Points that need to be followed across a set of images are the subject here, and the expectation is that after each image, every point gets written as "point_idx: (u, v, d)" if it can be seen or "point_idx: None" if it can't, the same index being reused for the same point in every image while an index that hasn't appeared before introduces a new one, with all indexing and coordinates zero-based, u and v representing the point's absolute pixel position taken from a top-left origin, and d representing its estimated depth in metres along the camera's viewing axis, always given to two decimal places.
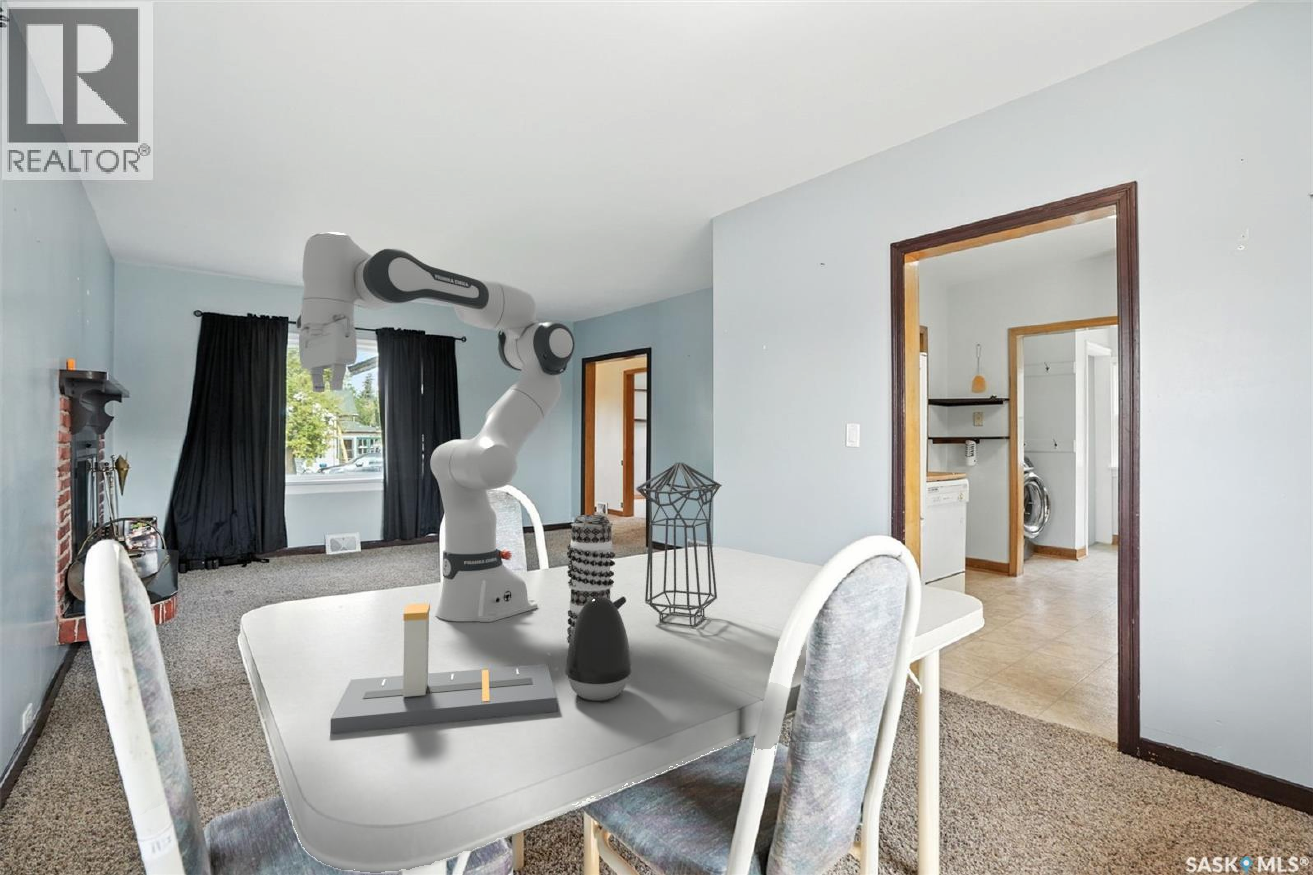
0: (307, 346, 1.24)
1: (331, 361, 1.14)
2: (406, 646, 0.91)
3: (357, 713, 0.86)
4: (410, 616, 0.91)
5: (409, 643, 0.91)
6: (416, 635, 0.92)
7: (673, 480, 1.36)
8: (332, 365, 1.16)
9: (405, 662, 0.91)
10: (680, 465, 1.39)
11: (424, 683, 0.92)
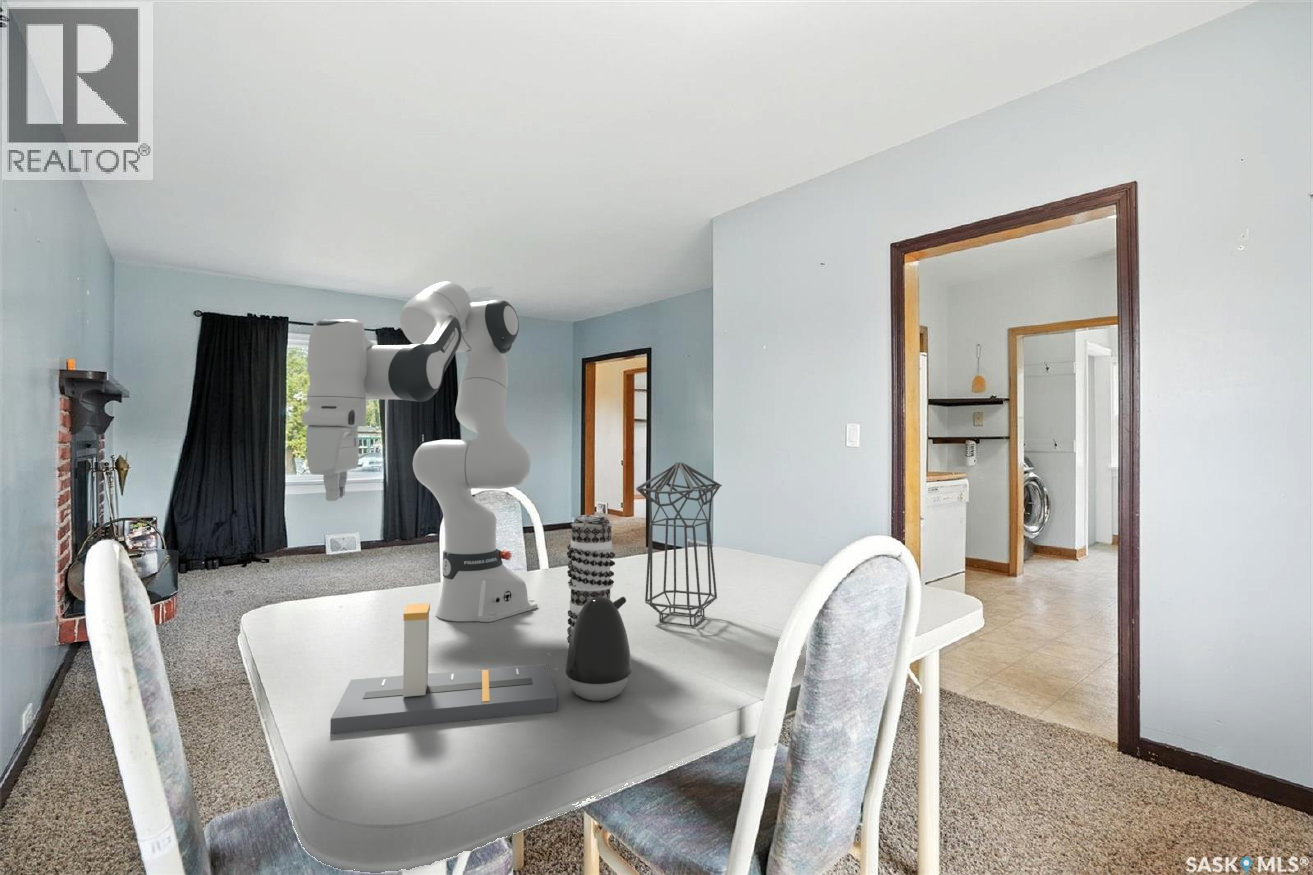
0: None
1: (355, 467, 1.12)
2: (406, 646, 0.91)
3: (357, 713, 0.86)
4: (410, 616, 0.91)
5: (409, 643, 0.91)
6: (416, 635, 0.92)
7: (673, 480, 1.36)
8: (346, 471, 1.08)
9: (405, 662, 0.91)
10: (680, 465, 1.39)
11: (424, 683, 0.92)
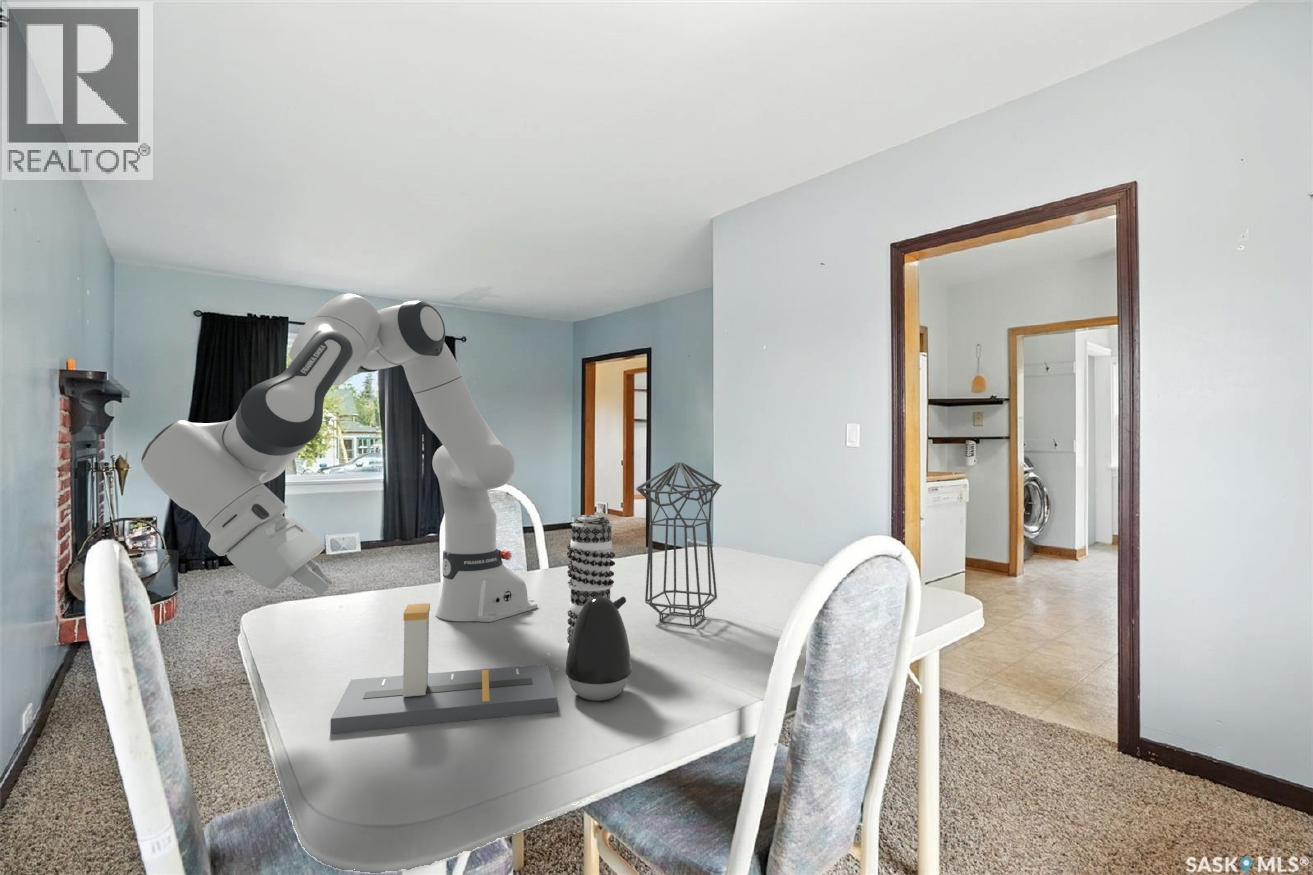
0: (273, 546, 0.83)
1: (322, 548, 0.97)
2: (406, 646, 0.91)
3: (357, 713, 0.86)
4: (410, 616, 0.91)
5: (409, 643, 0.91)
6: (416, 635, 0.92)
7: (673, 480, 1.36)
8: (312, 560, 0.91)
9: (405, 662, 0.91)
10: (680, 465, 1.39)
11: (424, 683, 0.92)
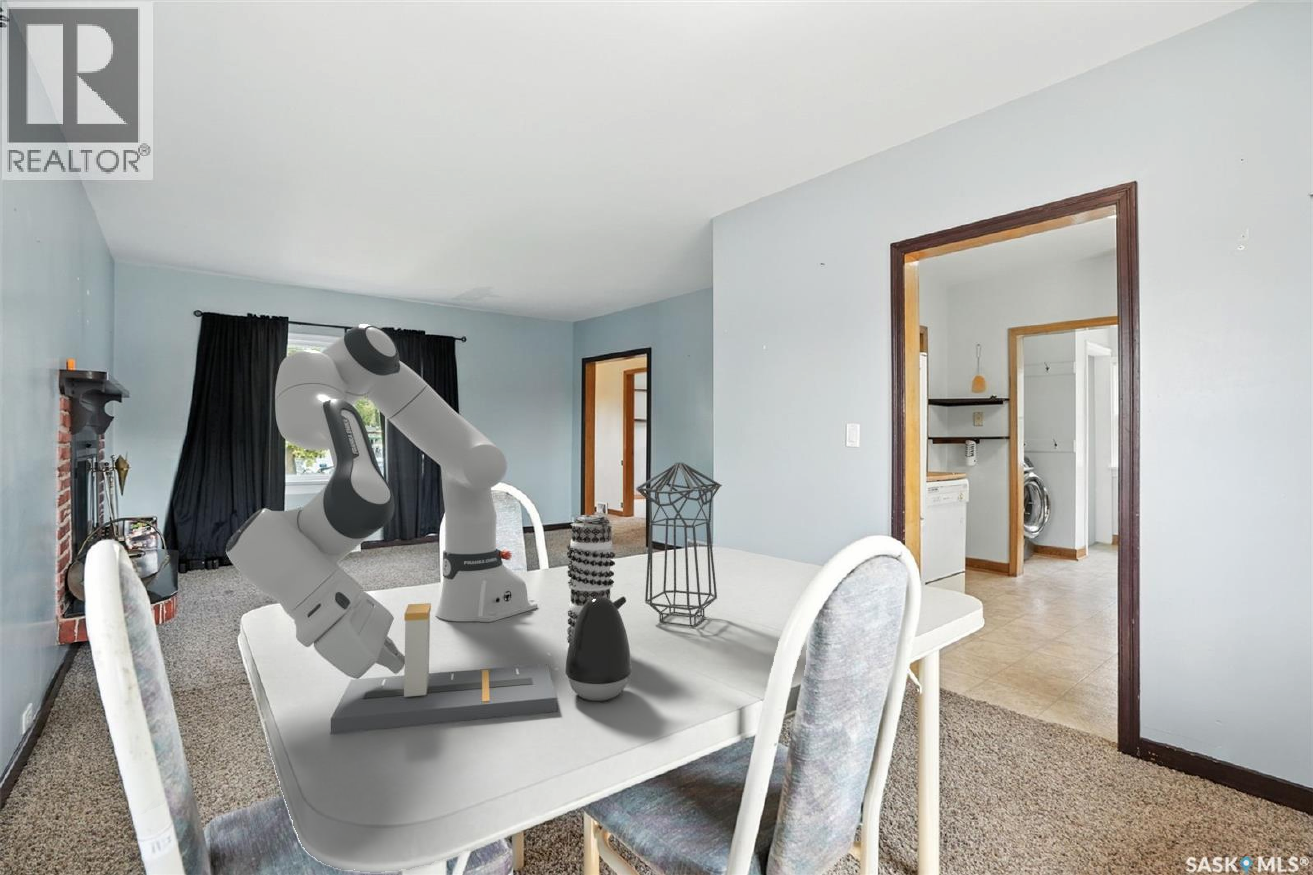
0: (356, 633, 0.86)
1: (392, 620, 1.00)
2: (406, 646, 0.91)
3: (357, 713, 0.86)
4: (411, 616, 0.91)
5: (410, 643, 0.91)
6: (417, 635, 0.92)
7: (673, 480, 1.36)
8: (386, 638, 0.94)
9: (406, 662, 0.91)
10: (680, 465, 1.39)
11: (425, 683, 0.92)
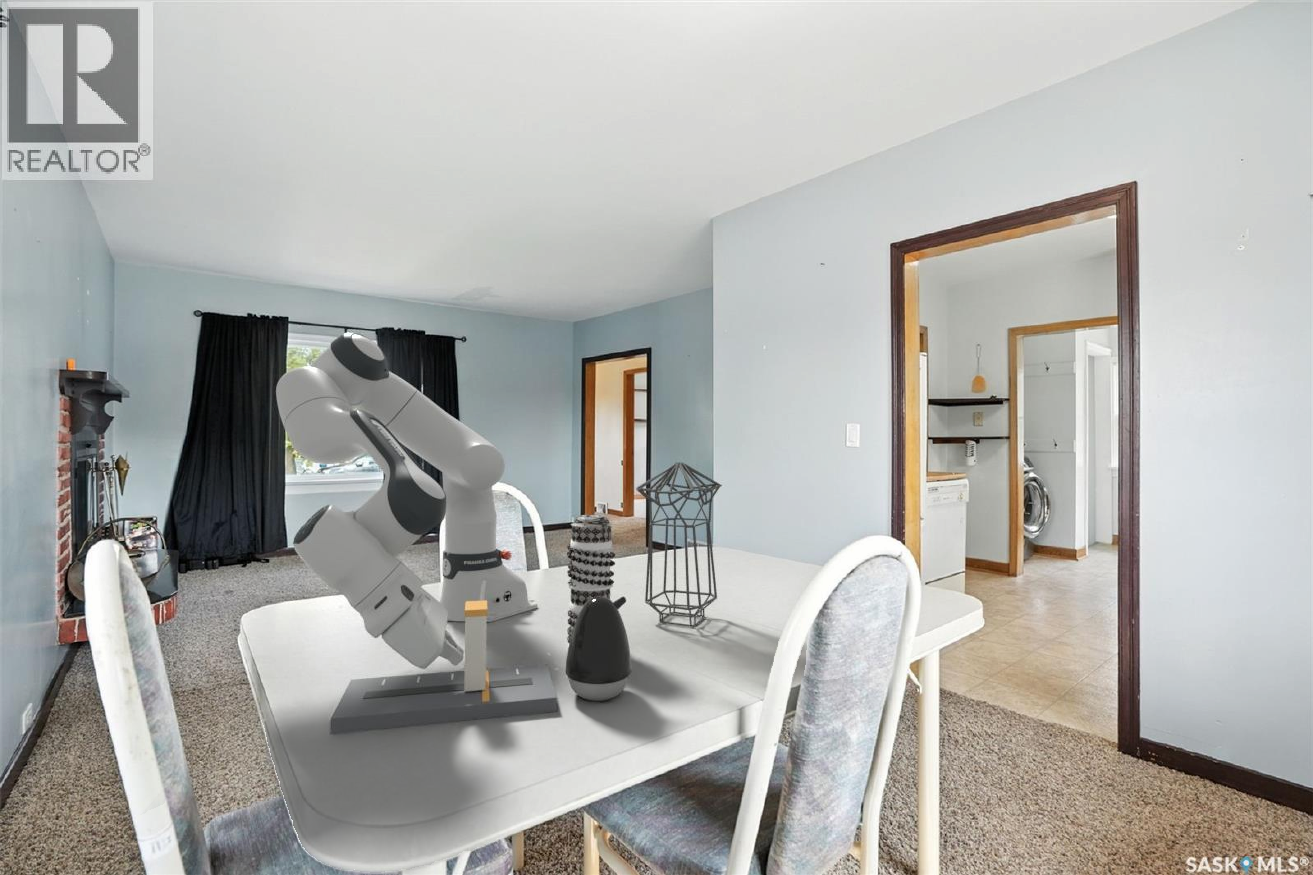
0: None
1: (447, 614, 1.02)
2: (467, 642, 0.93)
3: (357, 713, 0.86)
4: (471, 613, 0.94)
5: (470, 639, 0.94)
6: (476, 631, 0.94)
7: (673, 480, 1.36)
8: (445, 631, 0.96)
9: (466, 657, 0.93)
10: (680, 465, 1.39)
11: (484, 678, 0.94)
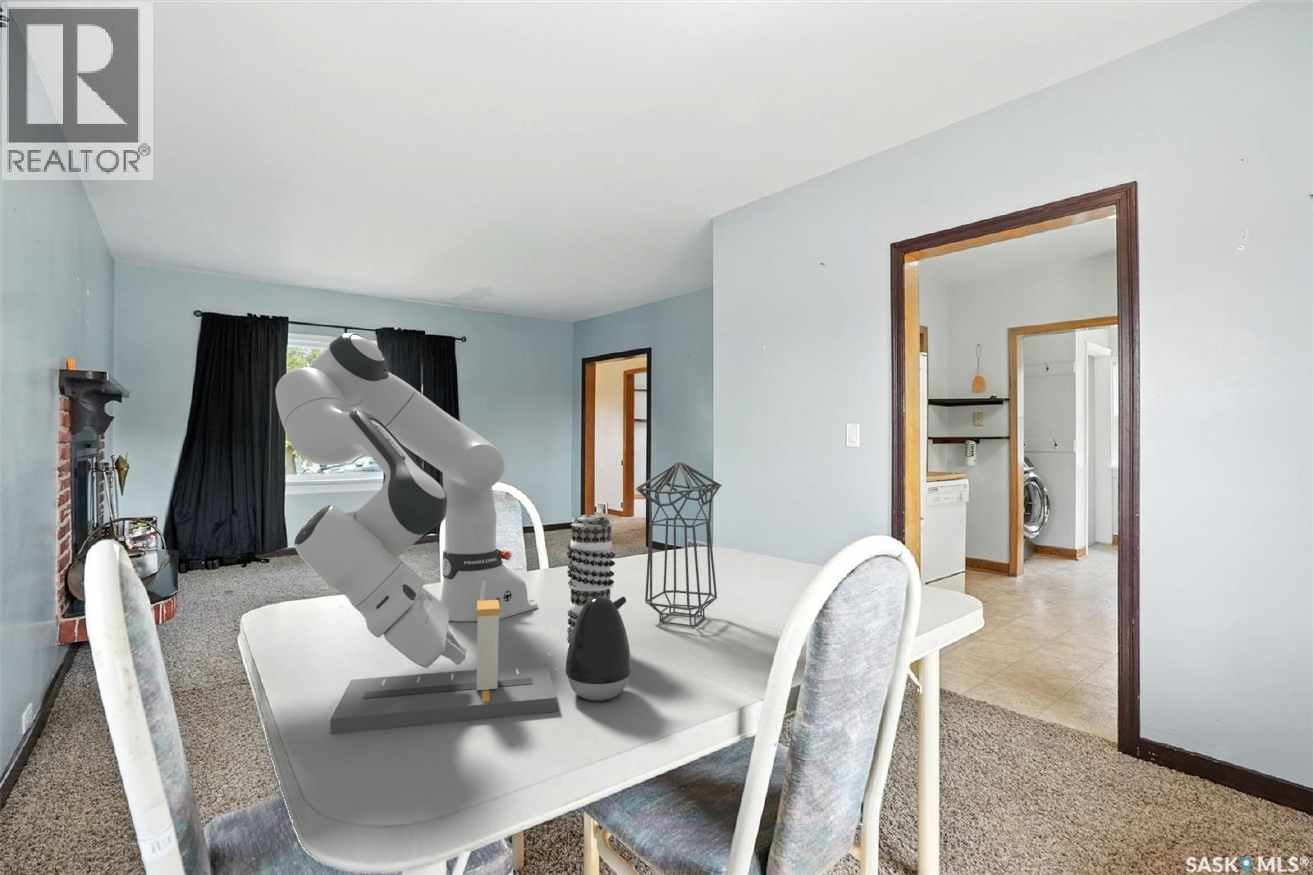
0: None
1: (449, 614, 1.02)
2: (479, 641, 0.94)
3: (357, 713, 0.86)
4: (483, 612, 0.94)
5: (482, 639, 0.94)
6: (489, 630, 0.94)
7: (673, 480, 1.36)
8: (447, 630, 0.97)
9: (478, 657, 0.94)
10: (680, 465, 1.39)
11: (496, 677, 0.95)
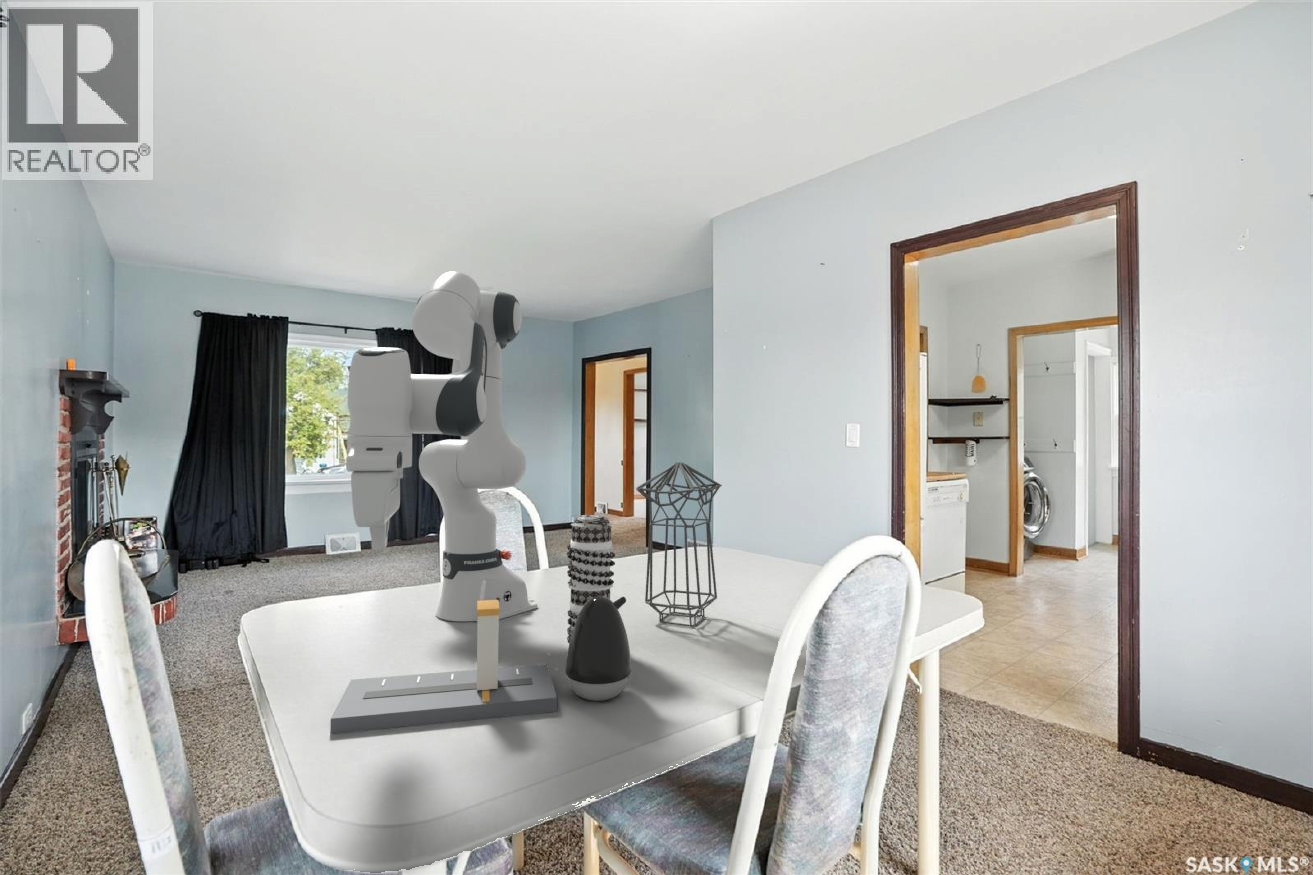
0: None
1: (397, 509, 1.02)
2: (479, 641, 0.94)
3: (357, 713, 0.86)
4: (483, 612, 0.94)
5: (482, 639, 0.94)
6: (489, 630, 0.94)
7: (673, 480, 1.36)
8: None
9: (478, 657, 0.94)
10: (680, 465, 1.39)
11: (496, 677, 0.95)
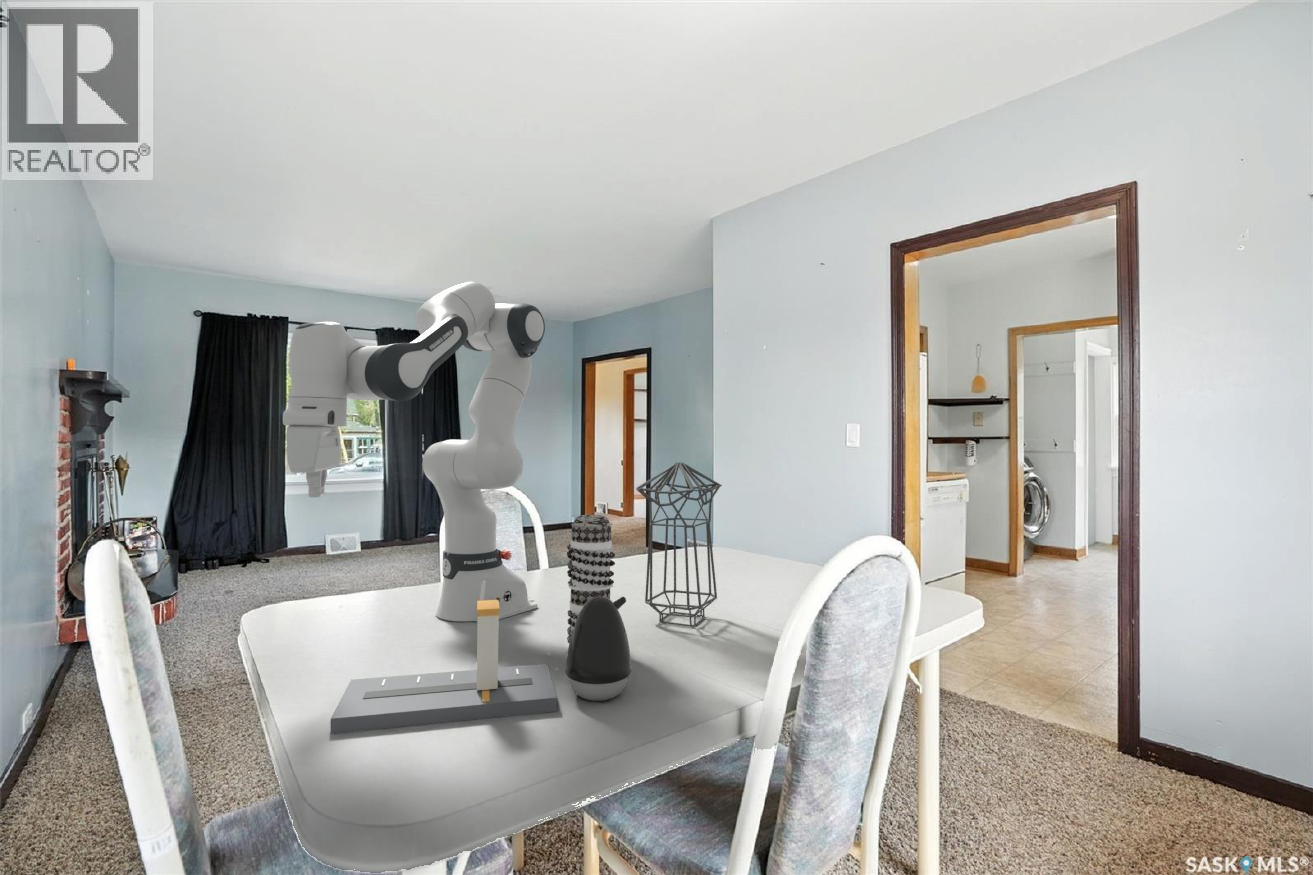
0: None
1: (337, 465, 1.16)
2: (479, 641, 0.94)
3: (357, 713, 0.86)
4: (483, 612, 0.94)
5: (482, 639, 0.94)
6: (489, 630, 0.94)
7: (673, 480, 1.36)
8: (325, 470, 1.10)
9: (478, 657, 0.94)
10: (680, 465, 1.39)
11: (496, 677, 0.95)
